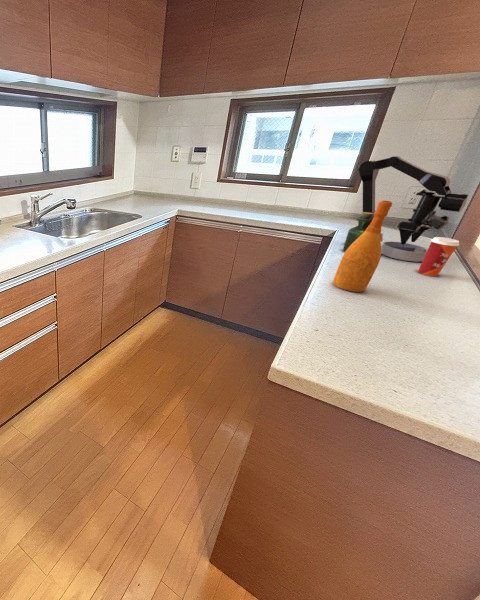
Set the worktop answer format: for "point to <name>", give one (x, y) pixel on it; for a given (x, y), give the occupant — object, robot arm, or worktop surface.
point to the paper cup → (437, 255)
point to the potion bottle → (357, 229)
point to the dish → (402, 251)
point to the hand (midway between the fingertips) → (407, 243)
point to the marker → (410, 249)
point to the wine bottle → (362, 254)
